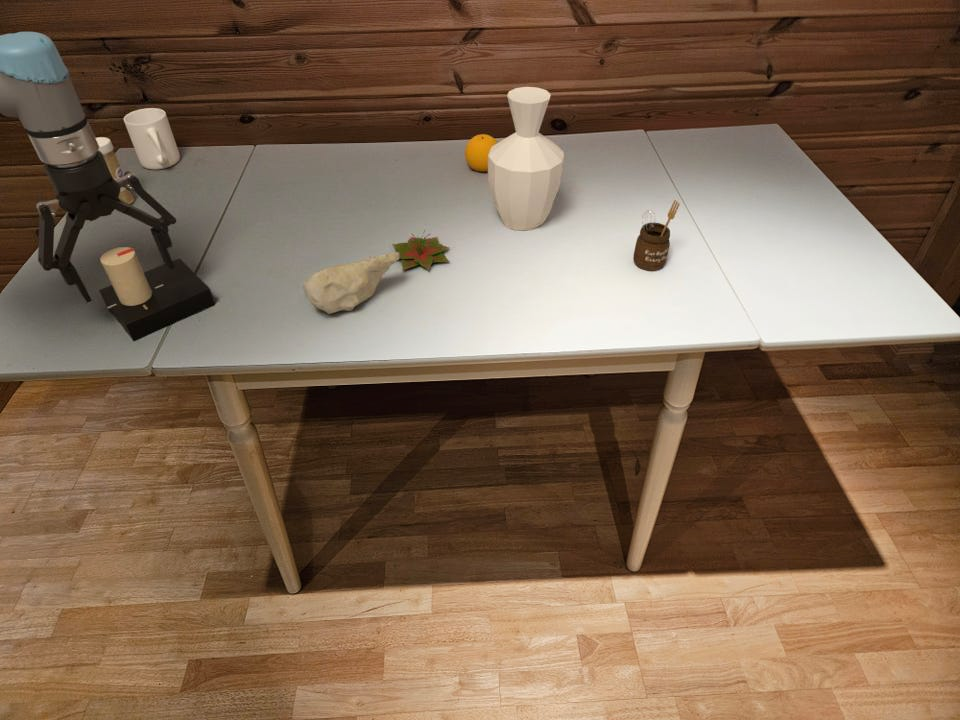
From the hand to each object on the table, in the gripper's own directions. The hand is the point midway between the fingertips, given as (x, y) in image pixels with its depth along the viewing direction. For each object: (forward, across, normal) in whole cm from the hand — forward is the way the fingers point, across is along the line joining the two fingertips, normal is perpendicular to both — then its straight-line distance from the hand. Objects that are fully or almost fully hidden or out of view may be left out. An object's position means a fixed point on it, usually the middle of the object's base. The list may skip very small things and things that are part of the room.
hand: (129, 281), depth 105 cm
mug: (+7, +24, +50) cm, 56 cm away
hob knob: (+3, 0, 0) cm, 3 cm away
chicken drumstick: (+7, +29, -20) cm, 36 cm away
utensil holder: (+7, +75, -48) cm, 89 cm away
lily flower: (+7, +45, -18) cm, 49 cm away
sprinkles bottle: (+7, +11, +39) cm, 41 cm away
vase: (+7, +68, -22) cm, 72 cm away
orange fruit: (+7, +77, 0) cm, 77 cm away
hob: (+7, +3, 0) cm, 7 cm away
